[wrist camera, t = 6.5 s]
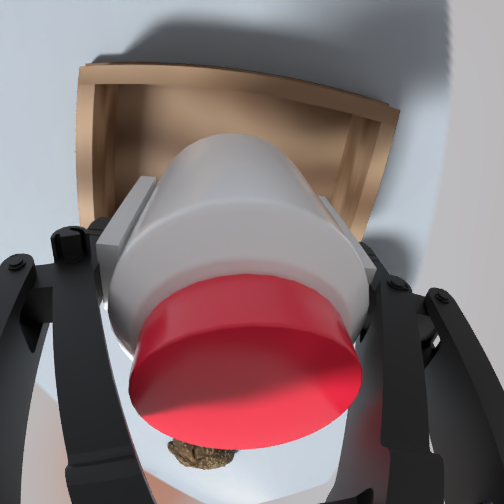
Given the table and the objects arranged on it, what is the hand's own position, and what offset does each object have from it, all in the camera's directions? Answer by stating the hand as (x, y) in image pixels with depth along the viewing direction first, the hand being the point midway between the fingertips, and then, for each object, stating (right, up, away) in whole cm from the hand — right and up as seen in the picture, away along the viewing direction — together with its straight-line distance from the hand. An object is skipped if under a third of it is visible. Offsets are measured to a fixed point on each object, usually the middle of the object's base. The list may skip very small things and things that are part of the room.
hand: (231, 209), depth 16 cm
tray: (-1, +6, +9) cm, 10 cm away
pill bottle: (0, 0, 0) cm, 0 cm away
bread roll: (-9, -39, +37) cm, 54 cm away
